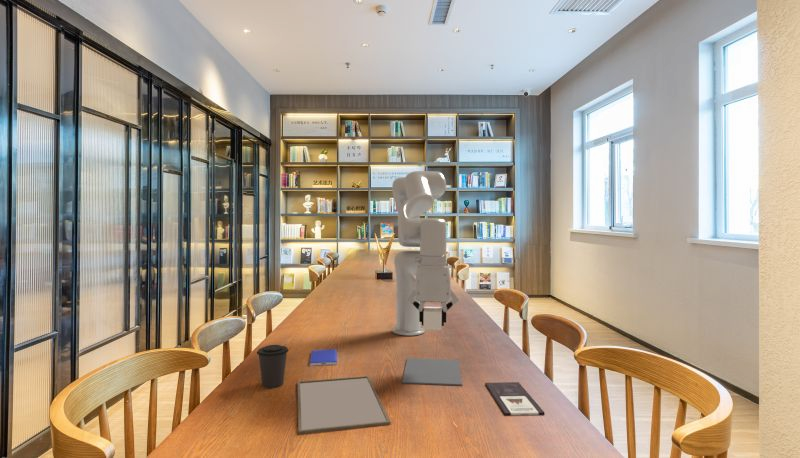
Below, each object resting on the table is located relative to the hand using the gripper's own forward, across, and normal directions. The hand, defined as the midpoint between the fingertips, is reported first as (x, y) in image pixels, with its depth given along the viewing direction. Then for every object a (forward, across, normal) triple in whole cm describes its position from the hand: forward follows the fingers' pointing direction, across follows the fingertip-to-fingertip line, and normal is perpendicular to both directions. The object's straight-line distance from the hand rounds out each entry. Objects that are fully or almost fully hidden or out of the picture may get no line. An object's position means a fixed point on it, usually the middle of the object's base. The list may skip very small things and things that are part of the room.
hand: (432, 324), depth 124 cm
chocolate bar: (+15, +20, -17) cm, 30 cm away
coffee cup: (+14, -42, -14) cm, 46 cm away
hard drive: (+15, -34, +8) cm, 38 cm away
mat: (+14, 0, 0) cm, 14 cm away
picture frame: (+15, -22, -23) cm, 35 cm away
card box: (0, 0, 0) cm, 0 cm away
